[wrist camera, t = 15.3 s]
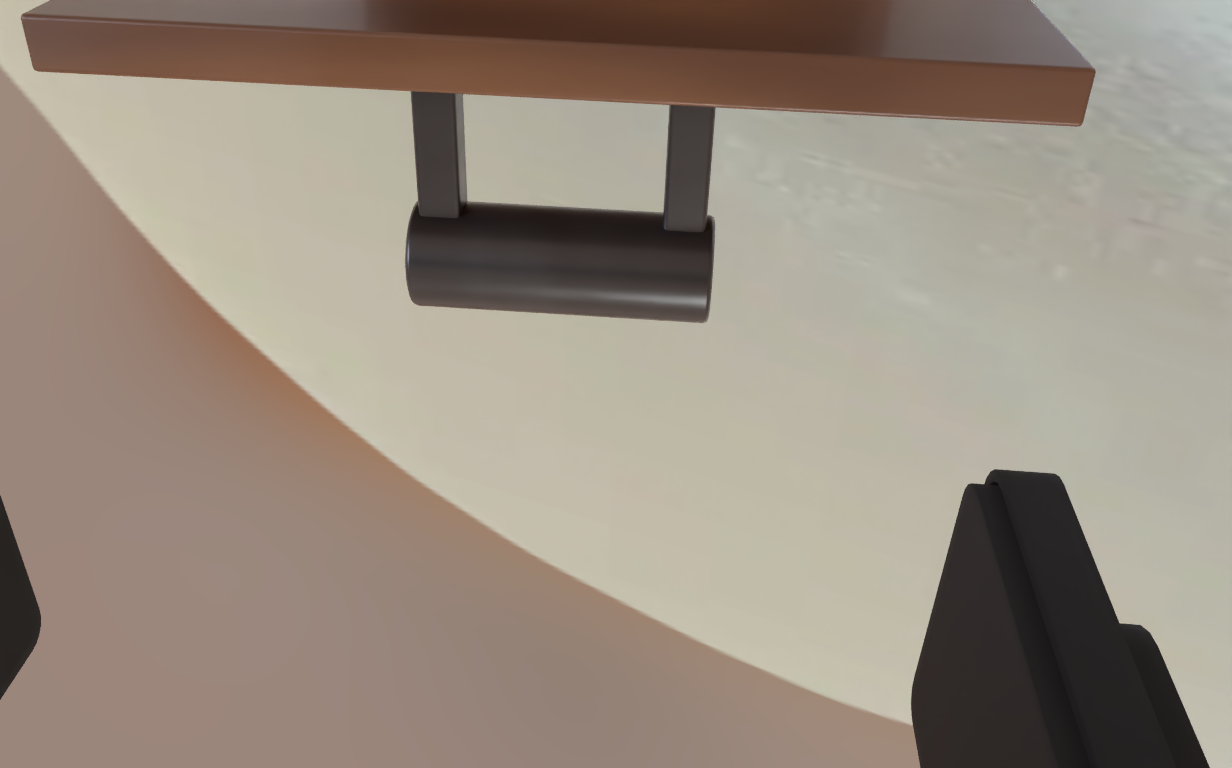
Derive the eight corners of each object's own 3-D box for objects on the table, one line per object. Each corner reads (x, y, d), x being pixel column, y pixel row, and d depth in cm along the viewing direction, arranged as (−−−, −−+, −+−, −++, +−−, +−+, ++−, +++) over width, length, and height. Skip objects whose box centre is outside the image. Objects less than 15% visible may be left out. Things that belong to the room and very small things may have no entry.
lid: (17, 13, 15) (98, 345, 18) (1098, 68, 15) (1012, 404, 18) (345, -150, 29) (362, 54, 32) (914, -125, 29) (882, 81, 31)
